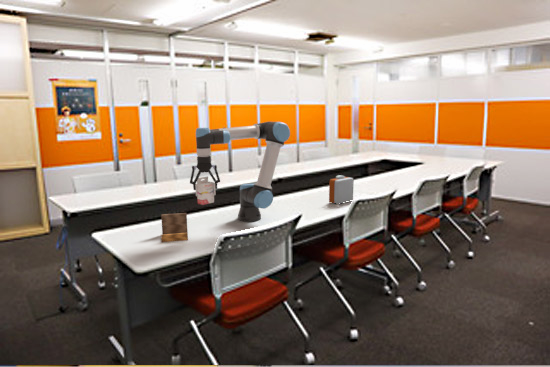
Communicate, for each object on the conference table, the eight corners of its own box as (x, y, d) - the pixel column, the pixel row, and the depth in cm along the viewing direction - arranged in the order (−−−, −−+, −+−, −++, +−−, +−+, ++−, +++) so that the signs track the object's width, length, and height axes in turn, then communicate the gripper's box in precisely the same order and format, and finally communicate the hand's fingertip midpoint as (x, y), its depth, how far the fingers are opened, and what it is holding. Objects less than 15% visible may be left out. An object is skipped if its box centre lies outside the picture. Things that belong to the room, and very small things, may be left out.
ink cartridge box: (203, 205, 218) (201, 179, 215) (197, 203, 221) (196, 178, 218) (214, 202, 225) (213, 176, 222) (208, 200, 228) (207, 176, 225)
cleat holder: (187, 232, 228) (186, 212, 226) (187, 240, 216) (186, 219, 213) (162, 234, 225) (161, 214, 223) (161, 242, 212) (160, 221, 210)
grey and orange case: (344, 199, 307) (345, 173, 303) (353, 201, 301) (354, 175, 297) (328, 203, 296) (329, 176, 292) (337, 205, 289) (338, 178, 285)
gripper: (223, 154, 224) (224, 192, 228) (183, 155, 219) (185, 194, 223) (224, 155, 216) (225, 195, 221) (183, 157, 211) (185, 197, 216)
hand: (205, 195), depth 222 cm, fingers closed on ink cartridge box, 9 cm apart
